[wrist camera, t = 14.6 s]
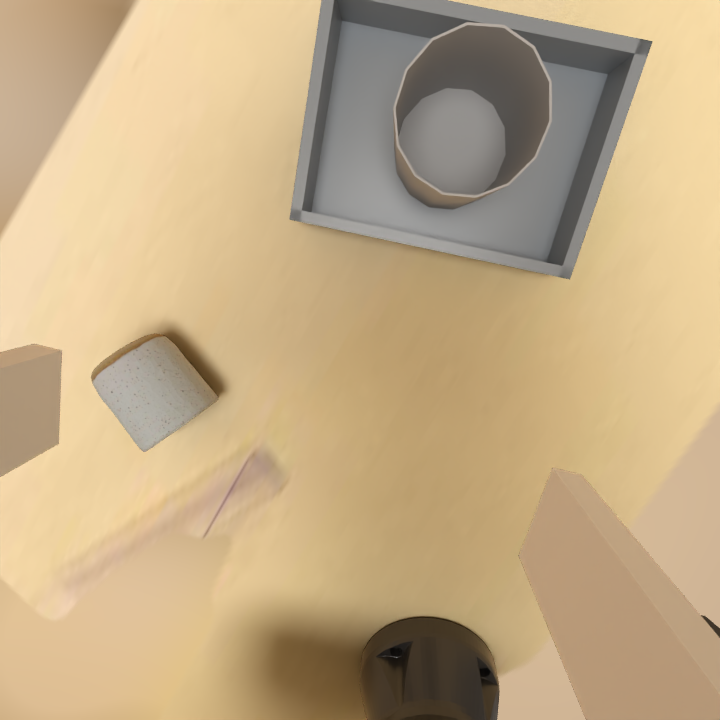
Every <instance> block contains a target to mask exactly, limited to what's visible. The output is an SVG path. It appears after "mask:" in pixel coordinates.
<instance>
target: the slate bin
mask: <svg viewBox="0 0 720 720" xmlns="http://www.w3.org/2000/svg"><path fill="white" fill-rule="evenodd" d="M466 22H473V23H486V24H500V25H505V26H507V27H508V28H510V29H511V30H513V31H514V32H515V33H517V34H518V35H520V36H521V37H522V38H524V39H525V40H527V41H528V42H530V43H531V44H532V45H534V46H535V48H536V50H537V52H538V54H539V56H540V58H541V60H542V62H543V64H544V66H545V68H546V70H547V72H548V74H549V77H550V79H551V81H552V122H551V124H550V127H549V129H548V132H547V134H546V136H545V139H544V141H543V144H542V146H541V148H540V151H539V153H538V155H537V158H536V159H535V160H534V161H533V162H532V163H531V164H530V165H529V166H528V167H527V168H526V169H525V170H524V171H523V172H522V173H521V174H520V175H519V176H518V177H517V178H516V179H515V180H514V181H513V182H512V183H511V184H510V185H508V186H506V187H504V188H502V189H500V190H498V191H496V192H494V193H492V194H490V195H487V196H485V197H483V198H481V199H479V200H477V201H475V202H472V203H469V204H467V205H464V206H461V207H459V208H456V209H454V210H451V209H440V208H430V207H428V206H426V205H425V204H423V203H422V202H420V201H419V200H417V199H415V198H414V197H412V196H411V195H409V193H408V192H407V190H406V188H405V186H404V185H403V183H402V181H401V180H400V178H399V176H398V174H397V171H396V161H395V150H394V120H393V107H394V104H395V100H396V97H397V94H398V91H399V88H400V84H401V81H402V78H403V75H404V72H405V69H406V68H407V67H408V65H409V64H410V63H411V62H412V61H413V60H414V58H415V57H416V56H417V55H418V54H419V53H420V51H421V50H422V49H423V48H424V47H425V45H426V44H427V43H428V42H429V41H430V40H431V38H433V37H436V36H438V35H440V34H442V33H444V32H447V31H449V30H451V29H453V28H455V27H458V26H460V25H462V24H464V23H466ZM651 44H652V41H648V40H643V39H638V38H633V37H628V36H623V35H618V34H613V33H608V32H603V31H598V30H593V29H588V28H583V27H578V26H573V25H568V24H563V23H558V22H553V21H548V20H543V19H538V18H533V17H528V16H523V15H518V14H513V13H508V12H503V11H498V10H493V9H488V8H483V7H478V6H473V5H468V4H463V3H458V2H453V1H448V0H322V1H321V8H320V15H319V22H318V29H317V36H316V42H315V49H314V56H313V63H312V70H311V77H310V83H309V90H308V97H307V104H306V111H305V118H304V124H303V131H302V138H301V145H300V152H299V159H298V165H297V172H296V179H295V186H294V193H293V200H292V206H291V213H290V220H294V221H299V222H304V223H308V224H313V225H318V226H322V227H327V228H332V229H336V230H341V231H346V232H350V233H355V234H360V235H365V236H369V237H374V238H379V239H383V240H388V241H393V242H397V243H402V244H407V245H411V246H416V247H421V248H425V249H430V250H435V251H440V252H444V253H449V254H454V255H458V256H463V257H468V258H472V259H477V260H482V261H486V262H491V263H496V264H500V265H505V266H510V267H514V268H519V269H524V270H529V271H533V272H538V273H543V274H547V275H552V276H557V277H561V278H566V279H570V277H571V275H572V272H573V269H574V266H575V263H576V260H577V257H578V254H579V251H580V249H581V246H582V243H583V240H584V237H585V234H586V231H587V228H588V226H589V223H590V220H591V217H592V214H593V211H594V208H595V205H596V203H597V200H598V197H599V194H600V191H601V188H602V185H603V182H604V179H605V177H606V174H607V171H608V168H609V165H610V162H611V159H612V156H613V154H614V151H615V148H616V145H617V142H618V139H619V136H620V133H621V130H622V128H623V125H624V122H625V119H626V116H627V113H628V110H629V107H630V105H631V102H632V99H633V96H634V93H635V90H636V87H637V84H638V82H639V79H640V76H641V73H642V70H643V67H644V64H645V61H646V58H647V56H648V53H649V50H650V47H651Z"/></svg>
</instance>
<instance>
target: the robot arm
mask: <svg viewBox="0 0 720 720" xmlns="http://www.w3.org/2000/svg"><path fill="white" fill-rule="evenodd" d="M61 363H62V350H58V349H54V348H50V347H45V346H41V345H37V344H31V345H27V346H23V347H19V348H15V349H11V350H8V351H4V352H0V477H1V476H3V475H5V474H6V473H8V472H10V471H12V470H13V469H15V468H17V467H19V466H21V465H22V464H24V463H26V462H28V461H29V460H31V459H33V458H35V457H36V456H38V455H40V454H42V453H43V452H45V451H47V450H49V449H50V448H52V447H54V446H56V445H57V444H59V422H60V393H61ZM519 558H520V561H521V563H522V565H523V568H524V570H525V573H526V575H527V578H528V580H529V582H530V585H531V587H532V590H533V592H534V595H535V597H536V600H537V602H538V604H539V607H540V609H541V612H542V614H543V617H544V619H545V621H546V624H547V626H548V629H549V631H550V634H551V636H552V638H553V641H554V643H555V646H556V648H557V650H558V653H559V656H560V658H561V660H562V663H563V665H564V668H565V670H566V672H567V675H568V677H569V680H570V682H571V684H572V687H573V690H574V692H575V694H576V697H577V699H578V702H579V704H580V707H581V709H582V712H583V714H584V716H585V719H586V720H720V628H719V627H717V626H716V625H715V624H714V623H713V622H711V621H710V620H709V619H708V618H707V617H705V616H702V615H700V614H699V613H698V612H697V610H696V609H695V608H694V607H693V606H692V604H691V603H690V602H689V601H688V600H687V599H686V598H685V596H684V595H683V594H682V593H681V591H680V590H679V589H678V588H677V587H676V586H675V584H674V583H673V582H672V581H671V580H670V578H669V577H668V576H667V575H666V574H665V573H664V571H663V570H662V569H661V568H660V567H659V565H658V564H657V563H656V562H655V561H654V560H653V558H652V557H651V556H650V555H649V554H648V552H647V551H646V550H645V549H644V548H643V547H642V545H641V544H640V543H639V542H638V541H637V539H636V538H635V537H634V536H633V535H632V533H631V532H630V531H629V530H628V529H627V528H626V526H625V525H624V524H623V523H622V522H621V520H620V519H619V518H618V517H617V516H616V515H615V513H614V512H613V511H612V510H611V509H610V507H609V506H608V505H607V504H606V503H605V502H604V500H603V499H602V498H601V497H600V496H599V494H598V493H597V492H596V491H595V490H594V489H593V487H592V486H591V485H590V484H589V483H588V481H587V480H586V479H585V478H584V477H583V476H582V475H581V474H577V473H573V472H569V471H565V470H560V469H556V468H552V470H551V472H550V475H549V477H548V480H547V483H546V485H545V488H544V491H543V493H542V496H541V498H540V501H539V504H538V506H537V509H536V511H535V514H534V517H533V519H532V522H531V524H530V527H529V530H528V532H527V535H526V537H525V540H524V543H523V545H522V548H521V551H520V553H519ZM360 690H361V696H362V700H363V704H364V709H365V713H366V718H367V720H497V715H498V703H499V681H498V676H497V672H496V668H495V663H494V660H493V657H492V655H491V652H490V651H489V649H488V647H487V646H486V645H485V644H484V642H483V641H482V640H481V639H480V638H479V637H478V636H476V635H475V634H474V633H472V632H471V631H469V630H468V629H466V628H464V627H462V626H460V625H458V624H455V623H453V622H450V621H446V620H441V619H435V618H413V619H407V620H402V621H399V622H396V623H393V624H391V625H389V626H387V627H385V628H384V629H382V630H381V631H379V632H378V633H377V634H375V635H374V636H373V637H372V639H371V640H370V641H369V642H368V644H367V645H366V647H365V649H364V652H363V655H362V659H361V670H360Z"/></svg>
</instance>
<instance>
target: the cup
mask: <svg viewBox="0 0 720 720" xmlns="http://www.w3.org/2000/svg"><path fill="white" fill-rule="evenodd" d="M393 120H394V150H395V161H396V171H397V174H398V176H399V178H400V180H401V181H402V183H403V185H404V186H405V188H406V190H407V192H408V193H409V195H411V196H412V197H414V198H415V199H417V200H419V201H420V202H422V203H423V204H425V205H426V206H428V207H430V208H440V209H451V210H454V209H456V208H459V207H461V206H464V205H467V204H469V203H472V202H475V201H477V200H479V199H481V198H483V197H485V196H487V195H490V194H492V193H494V192H496V191H498V190H500V189H502V188H504V187H506V186H508V185H510V184H511V183H512V182H513V181H514V180H515V179H516V178H517V177H518V176H519V175H520V174H521V173H522V172H523V171H524V170H525V169H526V168H527V167H528V166H529V165H530V164H531V163H532V162H533V161H534V160H535V159H536V158H537V155H538V153H539V151H540V148H541V146H542V144H543V141H544V139H545V136H546V134H547V132H548V129H549V127H550V124H551V122H552V81H551V79H550V77H549V74H548V72H547V70H546V68H545V66H544V64H543V62H542V60H541V58H540V56H539V54H538V52H537V50H536V48H535V46H534V45H532V44H531V43H530V42H528V41H527V40H525V39H524V38H522V37H521V36H520V35H518V34H517V33H515V32H514V31H513V30H511V29H510V28H508V27H507V26H505V25H500V24H486V23H473V22H466V23H464V24H462V25H460V26H458V27H455V28H453V29H451V30H449V31H447V32H444V33H442V34H440V35H438V36H436V37H433V38H431V40H430V41H429V42H428V43H427V44H426V45H425V47H424V48H423V49H422V50H421V51H420V53H419V54H418V55H417V56H416V57H415V58H414V60H413V61H412V62H411V63H410V64H409V65H408V67H407V68H406V69H405V72H404V75H403V78H402V81H401V84H400V88H399V91H398V94H397V97H396V100H395V104H394V107H393Z"/></svg>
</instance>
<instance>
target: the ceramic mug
mask: <svg viewBox="0 0 720 720" xmlns="http://www.w3.org/2000/svg"><path fill="white" fill-rule="evenodd" d="M91 379H92V383H93V385H94V387H95V389H96V390H97V392H98V394H99V396H100V397H101V398H102V400H103V401H104V402H105V404H106V405H107V406H108V407H109V408H110V409H111V411H112V412H113V413H114V415H115V416H116V417H117V419H118V420H119V421H120V423H121V424H122V426H123V427H124V428H125V430H126V431H127V432H128V434H129V435H130V436H131V438H132V439H133V440H134V442H135V443H136V444H137V446H138V447H139V448H140V449H141V450H142V451H143V452H146V451H148V450H149V449H151V448H152V447H154V446H155V445H156V444H158V443H159V442H161V441H162V440H164V439H165V438H166V437H168V436H169V435H171V434H172V433H174V432H175V431H177V430H178V429H179V428H181V427H182V426H184V425H185V424H186V423H188V422H189V421H190V420H191V419H193V418H194V417H196V416H197V415H198V414H200V413H201V412H202V411H204V410H205V409H206V408H208V407H209V406H210V405H212V404H213V403H214V402H216V401H217V400H218V397H217V395H216V394H215V393H214V391H213V390H212V389H211V388H210V387H209V385H208V384H207V383H206V382H205V381H204V380H203V378H202V377H201V376H200V375H199V373H198V372H197V371H196V370H195V368H194V367H193V366H192V365H191V364H190V363H189V361H188V360H187V359H186V358H185V356H184V355H183V354H182V353H181V351H180V350H179V349H178V348H177V346H176V345H175V344H174V343H172V342H171V341H170V340H169V339H168V338H167V337H165V336H164V335H161V334H150V335H147V336H144V337H142V338H140V339H138V340H136V341H134V342H131V343H130V344H128V345H126V346H125V347H123V348H121V349H119V350H118V351H116V352H115V353H113V354H112V355H110V356H109V357H108V358H106V359H105V360H103V361H102V362H101V363H100V364H99V365H98V366H97V367H96V368H95V369H94V371H93V372H92V376H91Z"/></svg>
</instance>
